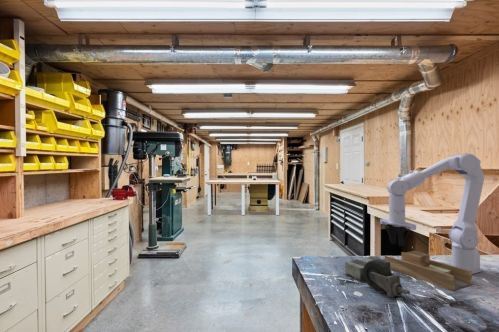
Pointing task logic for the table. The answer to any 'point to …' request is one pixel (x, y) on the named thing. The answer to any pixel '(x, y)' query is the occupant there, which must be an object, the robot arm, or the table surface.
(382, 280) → the caster wheel
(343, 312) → the table surface
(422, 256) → the walnut block
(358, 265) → the stone block
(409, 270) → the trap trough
